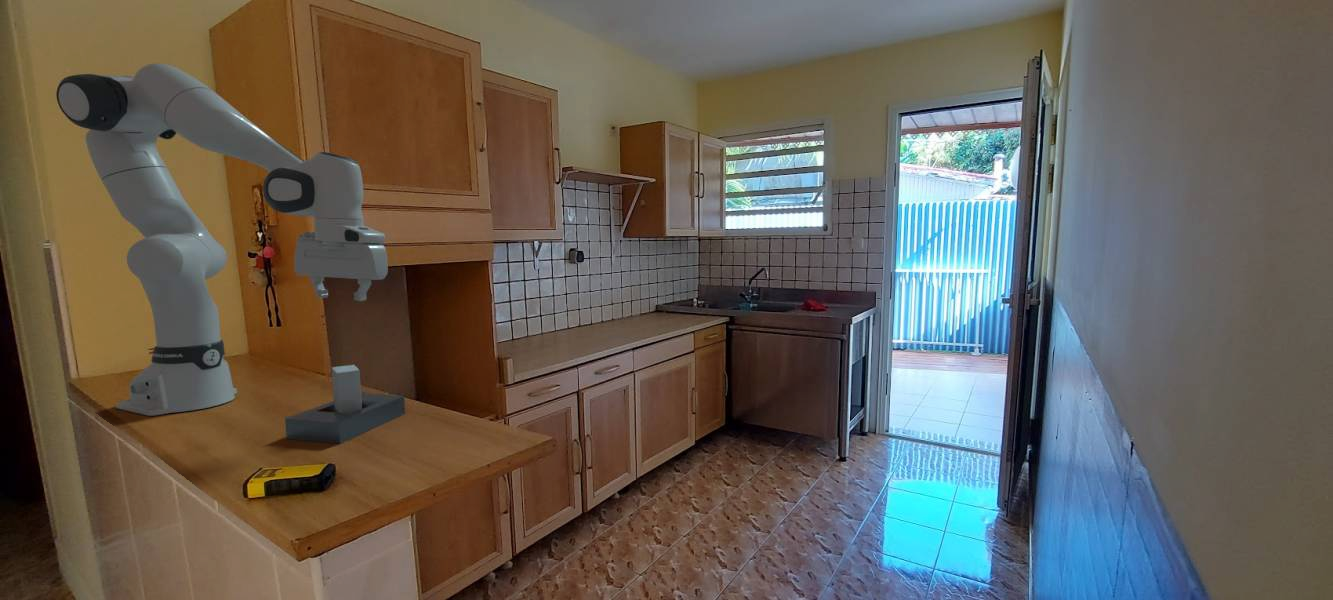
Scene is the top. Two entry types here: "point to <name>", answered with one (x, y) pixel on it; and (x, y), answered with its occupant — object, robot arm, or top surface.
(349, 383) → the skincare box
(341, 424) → the grey slotted block
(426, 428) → the top surface
